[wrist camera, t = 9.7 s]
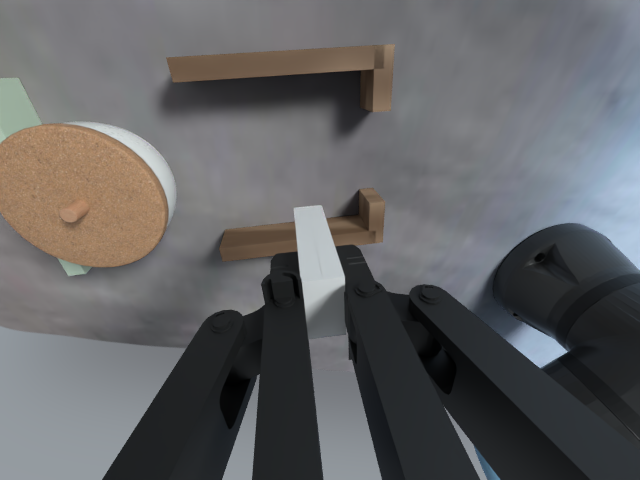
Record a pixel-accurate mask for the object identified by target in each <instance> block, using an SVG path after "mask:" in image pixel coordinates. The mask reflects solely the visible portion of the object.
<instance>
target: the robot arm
mask: <svg viewBox="0 0 640 480" xmlns="http://www.w3.org/2000/svg"><path fill="white" fill-rule="evenodd" d="M294 216H295V227H296V238H297V248H298V251H295V252H286V253H277V254H275V256H274V257H273V258H272V260H271V270H270V274H269V275H267V276H266V277H265V278H264V279H263V281H262V284H261V286H262V291H263V296H264V301H265V305H264V306H263V307H262V308H260V309H259V310H257V311H255V312H253V313H250V314H248V315H245V316H242V314H240V313H239V312H238V311H234V310H223V311H220V312H217V313H214V314H213V315H211V316H210V317H208V318H207V319H206V320H205V321H204V323H203V324H202V325H201V327H200V328H199V330H198V331H197V333H196V335H195V336H194V338H193V339H192V341H191V342H190V344H189V345H188V347H187V349H186V350H185V352H184V353H183V355H182V357H181V358H180V360H179V361H178V363H177V364H176V366H175V367H174V369H173V370H172V372H171V374H170V375H169V377H168V378H167V380H166V381H165V383H164V384H163V386H162V388H161V389H160V390H159V392H158V394H157V395H156V397H155V398H154V400H153V402H152V403H151V405H150V406H149V408H148V410H147V411H146V412H145V414H144V416H143V417H142V418H141V420H140V422H139V423H138V425H137V426H136V428H135V430H134V431H133V433H132V434H131V436H130V437H129V439H128V440H127V442H126V443H125V445H124V447H123V448H122V450H121V451H120V453H119V454H118V456H117V457H116V459H115V460H114V462H113V464H112V465H111V467H110V468H109V470H108V471H107V473H106V474H105V476H104V478H103V479H102V480H222V478H223V475H224V472H225V469H226V466H227V463H228V460H229V457H230V454H231V451H232V449H233V446H234V443H235V440H236V437H237V434H238V431H239V428H240V425H241V423H242V420H243V416H244V414H245V411H246V408H247V405H248V402H249V399H250V396H251V393H252V391H253V388H254V385H255V382H256V379H257V375H259V374H260V380H259V393H258V407H257V408H258V409H257V421H256V434H255V448H254V461H253V476H252V480H323V472H322V462H321V453H320V444H319V434H318V424H317V415H316V406H315V397H314V387H313V378H312V368H311V359H310V350H309V341H308V339H316V338H323V337H331V336H338V335H346V328H347V332H348V338H349V360H352V361H353V365H354V369H355V373H356V377H357V381H358V385H359V389H360V393H361V397H362V401H363V405H364V409H365V413H366V417H367V421H368V425H369V429H370V433H371V437H372V441H373V445H374V449H375V453H376V457H377V461H378V465H379V468H380V473H381V477H382V480H480V478H479V476H478V474H477V472H476V470H475V469H474V466H473V464H472V462H471V460H470V458H469V456H468V454H467V452H466V450H465V448H464V446H463V444H462V442H461V440H460V438H459V436H458V434H457V432H456V430H455V428H454V426H453V425H452V422H451V421H450V418H449V416H448V414H447V412H446V410H445V408H446V409H447V410H448V412H449V413H450V415H451V416H452V417H453V419H454V420H455V421H456V422H457V424H458V425H459V426H460V428H461V429H462V430H463V432H464V433H465V434H466V435H467V437H468V438H469V439H470V441H471V442H472V443H473V444H474V448H475V451H476V454H477V456H478V459H479V461H480V464H481V466H482V469H483V471H484V473H485V475H486V477H487V480H640V270H639V269H638V268H637V267H636V266H635V265H634V264H633V263H632V262H631V261H630V260H629V259H628V258H627V257H626V256H625V255H624V254H623V253H622V252H621V251H620V250H619V249H618V248H616V247H615V246H614V245H613V244H612V243H611V241H610V240H609V239H608V238H607V237H606V236H604V235H603V234H601V233H599V232H597V231H595V230H593V229H591V228H589V227H587V226H584V225H581V224H575V223H567V224H560V225H556V226H552V227H549V228H547V229H544V230H542V231H540V232H538V233H536V234H534V235H533V236H531V237H529V238H528V239H526V240H525V241H524V242H522V243H521V244H520V245H519V246H518V247H516V248H515V249H514V250H513V251H512V252H511V253H510V254H509V256H508V257H507V258H506V259H505V260H504V262H503V263H502V265H501V266H500V268H499V270H498V272H497V274H496V277H495V280H494V286H493V292H494V296H495V299H496V301H497V302H498V303H499V304H500V305H501V306H502V307H503V308H504V309H505V310H506V311H507V312H508V313H509V314H510V315H511V316H513V317H514V318H516V319H518V320H520V321H523V322H524V323H526V324H528V325H529V326H531V327H533V328H535V329H537V330H538V331H540V332H542V333H544V334H546V335H548V336H550V337H552V338H553V339H555V340H556V341H557V342H558V343H559V344H560V345H561V346H562V347H564V348H565V349H566V350H567V351H568V352H567V353H565V354H564V355H562V356H560V357H559V358H557V359H555V360H553V361H552V362H550V363H548V364H547V365H545V366H543V367H541V368H539V367H538V366H536V365H535V364H534V363H533V362H531V361H530V360H529V359H528V358H527V357H525V356H524V355H523V354H522V353H521V352H519V351H518V350H517V349H516V348H514V347H513V346H512V345H511V344H510V343H508V342H507V341H506V340H505V339H503V338H502V337H501V336H500V335H499V334H497V333H496V332H495V331H494V330H493V329H491V328H490V327H489V326H488V325H486V324H485V323H484V322H483V321H482V320H480V319H479V318H478V317H477V316H475V315H474V314H473V313H472V312H471V311H469V310H468V309H467V308H466V307H465V306H463V305H462V304H461V303H460V302H458V301H457V300H456V299H455V298H454V297H452V296H451V295H450V294H449V293H447V292H446V291H445V290H443V289H441V288H440V287H436V286H433V285H425V284H424V285H417V286H416V287H414V288H412V289H411V291H410V293H409V295H404V294H395V293H391V292H388V291H386V290H385V288H384V287H383V286H382V285H381V284H380V283H378V282H376V281H375V280H374V278H373V276H372V274H371V272H370V269H369V267H368V265H367V263H366V261H365V259H364V257H363V255H362V253H361V250H360V249H359V248H357V247H356V246H355V245H353V244H351V245H342V246H335V245H334V242H333V239H332V236H331V233H330V230H329V227H328V223H327V220H326V217H325V214H324V211H323V208H322V205H318V206H308V207H298V208H294ZM444 407H445V408H444Z"/></svg>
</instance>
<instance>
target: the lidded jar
mask: <svg viewBox="0 0 640 480" xmlns="http://www.w3.org/2000/svg"><path fill="white" fill-rule="evenodd" d="M176 199H177V190H176V183H175V180H174V177H173V174H172V172H171V169H170V167H169V165H168V164H167V162H166V161H165V159H164V158H163V157H162V155H161V154H160V153H159V152H158V151H157V150H156V149H155V148H154V147H153V146H152V145H151V144H149V143H148V142H147V141H145V140H144V139H142V138H141V137H139V136H137V135H135V134H134V133H132V132H130V131H128V130H125V129H122V128H120V127H117V126H113V125H109V124H104V123H97V122H80V121H79V122H65V123H57V124H43V125H38V126H34V127H29V128H25V129H22V130H20V131H18V132H16V133H13V134H11V135H10V136H9V137H7V138H6V139H5V140H3V141H2V142H1V144H0V212H1V213H2V215H3V217H4V218H5V219H6V220H7V222H8V223H9V224H10V225H11V226H12V227H13V228H14V229H15V230H16V231H17V232H18V233H19V234H20V235H21V236H22V237H23V238H25V239H26V240H27V241H29V242H30V243H31V244H33V245H34V246H36V247H38V248H39V249H41V250H43V251H44V252H46V253H48V254H50V255H52V256H55V257H57V258H59V259H62V260H65V261H68V262H70V263H74V264H79V265H83V266H90V267H116V266H122V265H126V264H130V263H132V262H135V261H137V260H140V259H141V258H143V257H145V256H146V255H148V254H149V253H150V252H151V251H152V250H153V249H154V248H155V247H156V245H157V244H158V243H159V241H160V240H161V239H162V237H163V235H164V232H165V230H166V229H167V227H168V225H169V223H170V221H171V219H172V217H173V214H174V210H175V206H176Z"/></svg>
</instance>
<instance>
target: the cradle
mask: <svg viewBox="0 0 640 480" xmlns="http://www.w3.org/2000/svg"><path fill="white" fill-rule="evenodd" d="M394 46H395V44H389V45H372V46H355V47H338V48H321V49H304V50H287V51H270V52H253V53H236V54H219V55H202V56H185V57H168V58H166V59H167V62H168V66H169V70H170V73H171V77H172V80H173V82H190V81H206V80H221V79H236V78H251V77H266V76H281V75H296V74H311V73H326V72H341V71H356V70H361V74H360V108H363V109H365V110H368V111H371V112H380V111H391V96H392V79H393V63H394ZM384 211H385V201H384V200H383V199H382V198H381V197H380V195H379V194H378V193H377V192H376V191H375V190H374V189H373V188H367V189H359V215H351V216H342V217H334V218H326V220H327V223H328V227H329V230H330V233H331V236H332V239H333V242H334V245H335V246H342V245H351V244H353V245H355V246H356V245H364V244H372V243H380V242H383V228H384ZM219 250H220V254H221V257H222V261H223V262H225V261H233V260H241V259H249V258H257V257H266V256H274V255H275V254H277V253H286V252H295V251H298V248H297V238H296V227H295V222H289V223H280V224H271V225H262V226H253V227H244V228H236V229H227V230H225V232H224V235H223V238H222V242H221V245H220V248H219Z"/></svg>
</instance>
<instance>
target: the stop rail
mask: <svg viewBox="0 0 640 480" xmlns="http://www.w3.org/2000/svg"><path fill="white" fill-rule="evenodd" d="M38 125H42V123H41V121H40V119H39V117H38V115H37V113H36V111H35V109H34V107H33V105H32V103H31V101H30V100H29V98H28V96H27V94H26V92H25V90H24V88H23V86H22V84H21V82H20V80H19V78H0V144H1V142H2V141H3V140H5V139H6V138H7V137H9V136H10V135H11V134H13V133H16V132H18V131H20V130H22V129H25V128H29V127H34V126H38ZM58 260H59V261H60V263H61V265H62V266H63V268H64V269H65V271H66V273H67V274H68V276H72V275H81V274H86V273H87V272H88V271H89V270H90V269H91V268H92V267H90V266H83V265H79V264H74V263H70V262H68V261H65V260H62V259H59V258H58Z"/></svg>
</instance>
